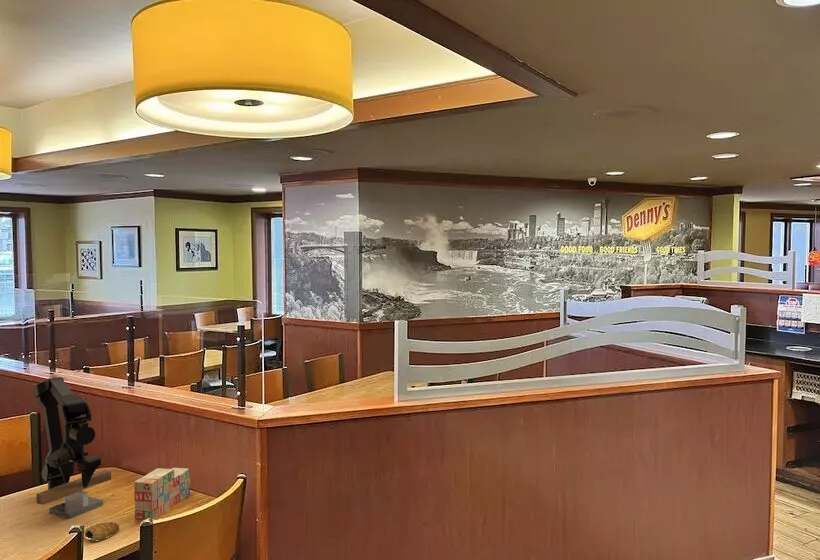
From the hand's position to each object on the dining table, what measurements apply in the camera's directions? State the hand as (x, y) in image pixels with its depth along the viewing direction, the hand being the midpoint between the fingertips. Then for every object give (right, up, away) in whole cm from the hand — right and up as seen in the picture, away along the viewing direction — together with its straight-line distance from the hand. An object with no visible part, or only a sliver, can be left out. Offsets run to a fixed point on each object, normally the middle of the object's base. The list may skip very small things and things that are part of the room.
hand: (75, 485), depth 203 cm
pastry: (+18, -9, -19) cm, 27 cm away
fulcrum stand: (0, -8, 0) cm, 8 cm away
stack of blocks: (+28, -8, +2) cm, 29 cm away
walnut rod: (0, -2, 0) cm, 2 cm away
